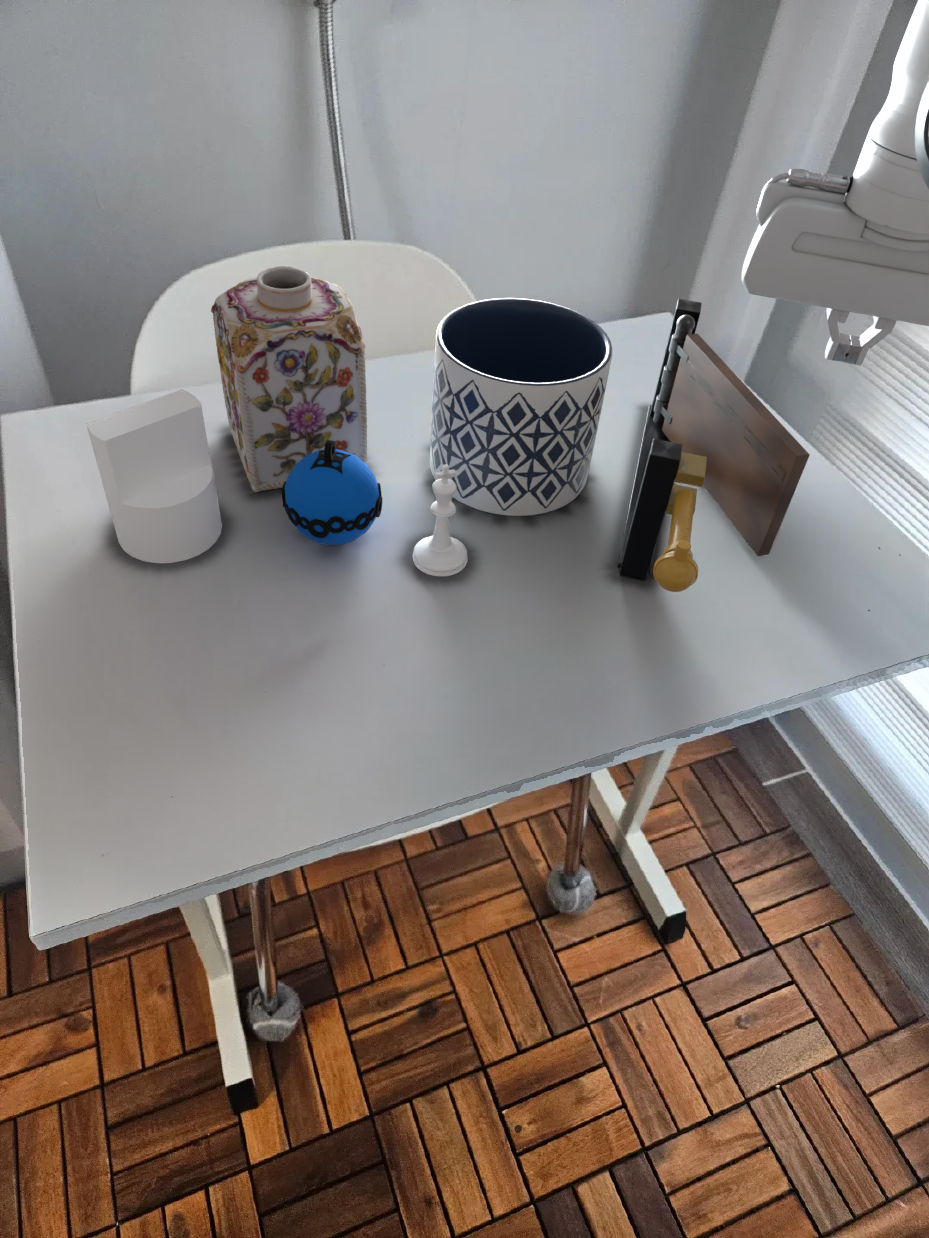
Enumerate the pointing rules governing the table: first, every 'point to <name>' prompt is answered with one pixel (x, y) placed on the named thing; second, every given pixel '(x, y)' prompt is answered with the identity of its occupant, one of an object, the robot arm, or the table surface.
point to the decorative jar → (290, 371)
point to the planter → (517, 403)
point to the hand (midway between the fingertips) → (842, 359)
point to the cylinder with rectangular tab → (159, 478)
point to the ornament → (331, 496)
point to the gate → (729, 437)
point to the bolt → (678, 548)
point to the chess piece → (441, 533)
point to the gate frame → (657, 478)
